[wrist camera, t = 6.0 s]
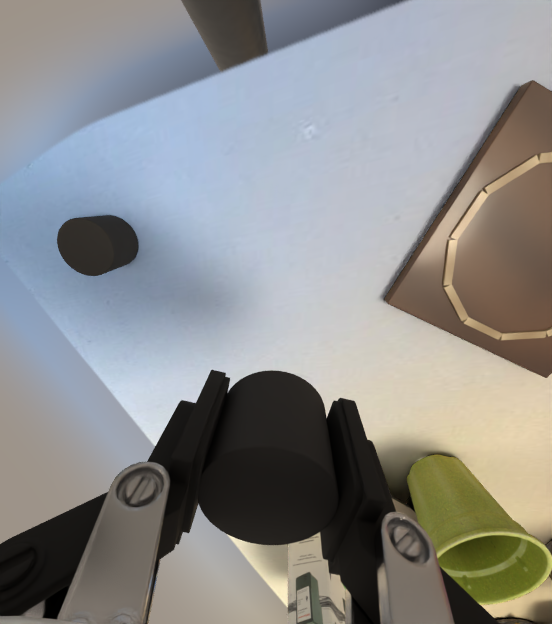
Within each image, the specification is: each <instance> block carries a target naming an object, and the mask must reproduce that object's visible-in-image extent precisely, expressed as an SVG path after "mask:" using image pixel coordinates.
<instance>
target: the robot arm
mask: <svg viewBox="0 0 552 624" xmlns="http://www.w3.org/2000/svg"><path fill="white" fill-rule="evenodd" d="M225 375H226V373H223V372H219V371H214V370H211V372H210V374H209V376H208V378H207V381H206V383H205V385H204V387H203V389H202V391H201V394H200V396H199V398H198V400H197V402H196V403H192V402H188V401H183V400H182V401H180V403H179V404H178V406H177V408H176V410H175V412H174V413H173V415H172V417H171V419H170V421H169V423H168V424H167V426H166V428H165V430H164V432H163V434H162V435H161V437H160V439H159V441H158V443H157V445H156V446H155V448H154V450H153V452H152V454H151V456H150V457H149V459H148V461H147V462H139V463H136V464H133V465H130V466H129V467H127V468H125V469H124V470H122V471H121V472H120V473H119V474H118V475H117V476H116V477H115V479H114V481H113V483H112V484H111V486H110V489H109V491H108V492H107V493H105V494H103V495H101V496H98V497H96V498H94V499H92V500H90V501H88V502H86V503H84V504H82V505H79V506H77V507H75V508H73V509H71V510H69V511H67V512H65V513H63V514H61V515H58V516H56V517H54V518H52V519H50V520H48V521H46V522H44V523H41V524H39V525H38V526H35V527H33V528H31V529H29V530H27V531H25V532H23V533H20V534H19V535H16V536H14V537H12V538H10V539H8V540H6V541H5V542H3V543H1V544H0V624H148V622H149V617H150V612H151V607H152V601H153V596H154V590H155V586H156V580H157V575H158V570H159V564H160V559H161V558H163V557H164V556H165V555H167V554H168V553H169V552H171V551H173V550H174V548H175V545H176V544H179V542H180V539H181V536H182V533H183V532H187V533H189V532H190V529H191V526H192V522H193V519H194V516H195V513H196V509H197V506H198V499H197V497H198V491H199V485H200V480H201V475H202V471H203V468H204V465H205V462H206V458H207V455H208V452H209V449H210V446H211V443H212V440H213V437H214V434H215V431H216V428H217V424H218V421H219V418H220V415H221V412H222V409H223V406H224V403H225V400H226V397H227V392H228V387H229V382H230V378H228V377H225ZM327 425H328V431H329V437H330V443H331V449H332V455H333V461H334V468H335V474H336V480H337V486H338V492H339V504H338V509H337V511H336V514H335V516H334V518H333V519H332V521H331V522H330V523H329V524H328V526H326V527H325V528H324V529H323V530H322V531H320V537H321V549H322V556H323V559H325V560H328V569H329V573H330V574H335V575H340V580H341V583H342V584H343V585H344V587H345V588H346V591H345V624H499V623H498V622H497V621H496V620H495V619H494V618H493V617H492V616H491V615H490V614H489V613H488V612H487V611H486V610H485V609H484V608H483V607H482V606H481V605H480V604H479V603H478V602H477V601H476V600H474V599H473V598H472V597H471V596H470V595H469V594H468V593H467V592H466V591H465V590H464V589H463V588H462V587H461V586H460V585H459V584H458V583H457V582H456V581H455V580H454V579H453V578H452V577H451V576H449V575H448V574H447V573H446V572H445V571H444V570H443V569H442V568H441V567H440V566H439V562H438V558H437V554H436V550H435V548H434V545H433V542H432V540H431V539H430V537H429V535H428V534H427V532H426V531H425V530H424V529H423V528H422V526H421V525H420V524H419V523H418V522H416V521H415V520H414V519H412V518H411V517H409V516H407V515H405V514H403V513H399V512H396V509H395V506H394V503H393V500H392V497H391V494H390V491H389V488H388V485H387V482H386V479H385V476H384V473H383V470H382V468H381V465H380V462H379V459H378V456H377V453H376V450H375V447H374V445H373V442H371V441H370V440H367V437H366V434H365V431H364V428H363V425H362V422H361V419H360V415H359V412H358V409H357V406H356V403H355V401H352V400H347V399H343V398H339V400H338V401H333V403H332V406H331V409H330V411H329V414H328V417H327Z"/></svg>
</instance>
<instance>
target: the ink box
mask: <svg viewBox="0 0 552 624" xmlns="http://www.w3.org/2000/svg"><path fill="white" fill-rule="evenodd" d="M345 591H346V588H345V587H344V585H343V584H342V583H341V580H340V575H335V574H330V573H329V569H328V560H325V559H323V556H322V549H321V537H320V532H319V533H317V534H316V535H314V536H312V537H310V538H308V539H305V540H303V541H299V542H296V543H291V544H288V624H345Z"/></svg>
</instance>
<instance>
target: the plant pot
mask: <svg viewBox="0 0 552 624" xmlns="http://www.w3.org/2000/svg"><path fill="white" fill-rule="evenodd" d="M407 484H408V487H409V491H410V494H411V498H412V501H413V505H414V509H415V512H416V516H417V520H418V523H419V524H420V525H421V526H422V528H423V529H424V530H425V531H426V532H427V534H428V535H429V537H430V539H431V540H432V542H433V545H434V548H435V550H436V554H437V558H438V562H439V566H440V567H441V568H442V569H443V570H444V571H445V572H446V573H447V574H448V575H449V576H451V577H452V578H453V579H454V580H455V581H456V582H457V583H458V584H459V585H460V586H461V587H462V588H463V589H464V590H465V591H466V592H467V593H468V594H469V595H470V596H471V597H472V598H473V599H474V600H476V601H477V602H478V603H479V604H480V605H489V604H498V603H503V602H507V601H509V600H514V599H516V598H519V597H521V596H523V595H525V594H528V593H530V592H532V591H533V590H535V589H536V588H537V587H538V586H540V585H541V584H542V583H543V582H544V581H545V580H546V579H547V577H548V576H549V574H550V572H551V570H552V555H551V553H550V551H549V550H548V549H547V547H546V546H545V545H544V544H543V543H542V542H541V541H539V540H538V539H537V538H535V537H533V536H532V535H530V534H528V533H527V532H526V531H525V529H524V528H523V527H522V526H520V525H519V524H518V523H517V522H515V521H514V520H512V519H511V517H510V516H509V515H508V514H507V513H506V512H505V511H504V510H503V508H502V507H501V506H500V505H499V504H498V503H497V502H496V500H495V499H494V498H493V497H492V496H491V495H490V494H489V492H488V491H487V490H486V489H485V488H484V487H483V486H482V484H481V483H480V482H479V481H478V480H477V479H476V477H475V476H474V475H473V474H472V473H471V472H470V470H469V469H468V468H467V467H466V466H465V465H464V464H463V463H462V462H461V461H460V460H459V459H457V458H456V457H446V456H442V455H439V454H437V455H431V456H428V457H425V458H423V459H421V460H419V461H417V462H416V463H415V464H413V466H412V467H411V470H410V473H409V475H408V476H407Z"/></svg>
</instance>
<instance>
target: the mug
mask: <svg viewBox="0 0 552 624" xmlns="http://www.w3.org/2000/svg"><path fill="white" fill-rule="evenodd" d="M496 621H497V622H498V623H499V624H534V623H532V622H530V621H525V620H519V619H501V620H496Z"/></svg>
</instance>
